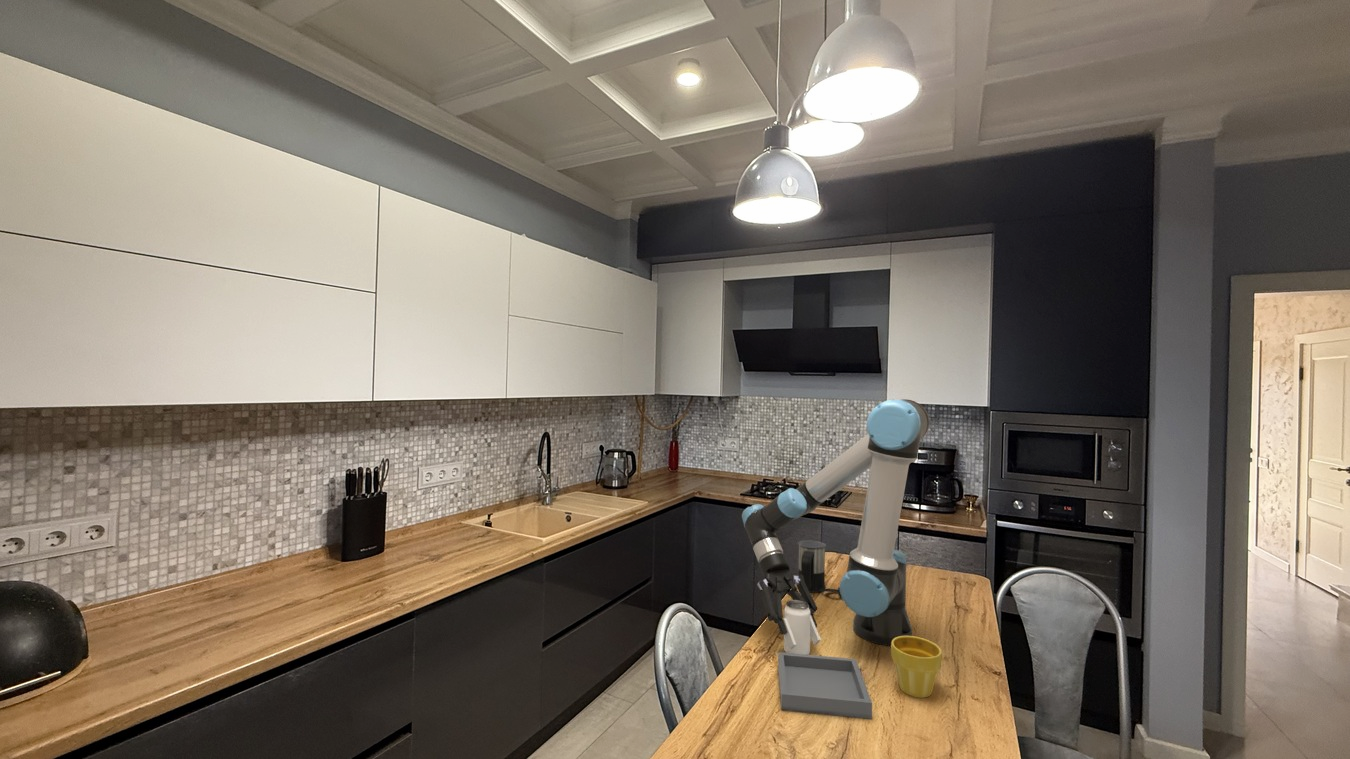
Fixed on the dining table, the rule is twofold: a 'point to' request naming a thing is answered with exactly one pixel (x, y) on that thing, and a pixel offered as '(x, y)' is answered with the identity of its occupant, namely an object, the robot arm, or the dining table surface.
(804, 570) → the milk frother
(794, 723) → the dining table surface
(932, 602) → the dining table surface
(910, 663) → the plant pot
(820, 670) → the tray
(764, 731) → the dining table surface
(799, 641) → the can
